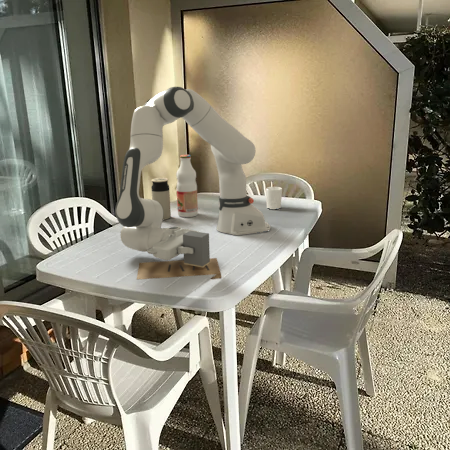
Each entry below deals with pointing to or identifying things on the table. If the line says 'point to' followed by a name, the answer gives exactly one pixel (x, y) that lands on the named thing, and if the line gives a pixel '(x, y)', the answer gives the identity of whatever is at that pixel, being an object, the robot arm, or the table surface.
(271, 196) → the white cup
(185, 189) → the fruit juice
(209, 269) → the oak board
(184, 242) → the block
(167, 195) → the travel mug
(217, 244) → the table surface
